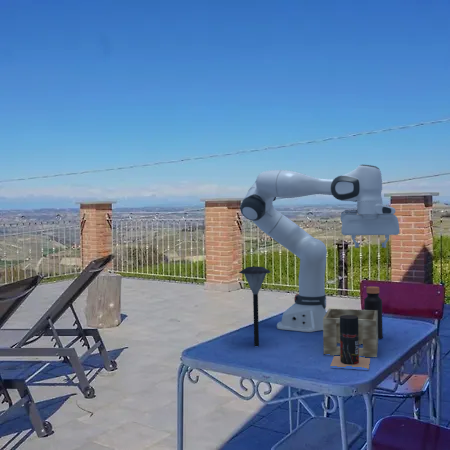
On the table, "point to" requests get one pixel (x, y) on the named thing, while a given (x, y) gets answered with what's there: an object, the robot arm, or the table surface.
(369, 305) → the bottle
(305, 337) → the table surface
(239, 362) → the table surface
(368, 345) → the crate
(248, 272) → the solar garden light
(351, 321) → the deodorant
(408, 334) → the table surface
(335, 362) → the tile
